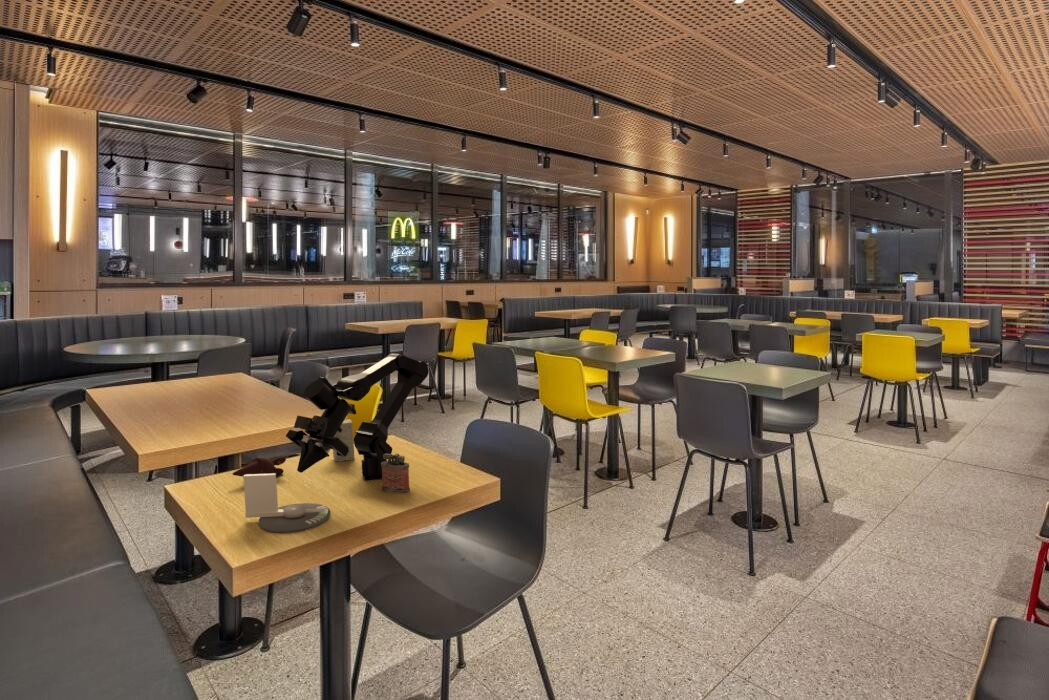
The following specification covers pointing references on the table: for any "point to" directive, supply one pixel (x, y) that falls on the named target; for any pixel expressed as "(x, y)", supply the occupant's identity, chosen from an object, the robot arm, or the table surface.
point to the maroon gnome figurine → (262, 467)
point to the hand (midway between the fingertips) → (299, 471)
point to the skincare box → (345, 440)
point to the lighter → (395, 474)
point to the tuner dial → (295, 520)
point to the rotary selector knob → (268, 498)
